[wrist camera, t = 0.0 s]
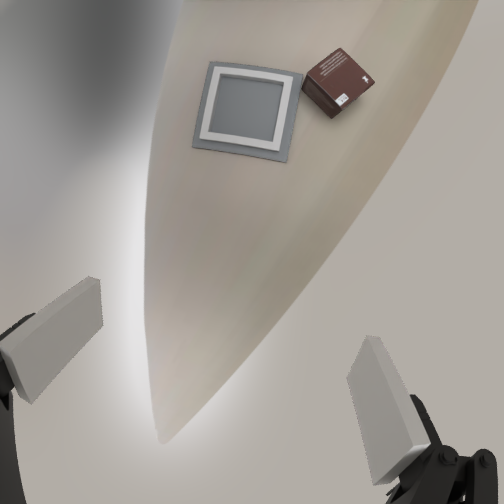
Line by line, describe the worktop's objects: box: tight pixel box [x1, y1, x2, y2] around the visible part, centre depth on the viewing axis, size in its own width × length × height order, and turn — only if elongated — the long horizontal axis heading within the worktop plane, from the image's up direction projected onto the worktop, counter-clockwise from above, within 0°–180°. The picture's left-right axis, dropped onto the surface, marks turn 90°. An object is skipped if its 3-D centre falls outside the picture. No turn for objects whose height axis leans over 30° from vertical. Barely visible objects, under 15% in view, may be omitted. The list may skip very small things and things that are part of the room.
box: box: [301, 48, 375, 119], centre depth 30 cm, size 6×6×7 cm
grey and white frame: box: [192, 62, 303, 162], centre depth 34 cm, size 13×13×2 cm
